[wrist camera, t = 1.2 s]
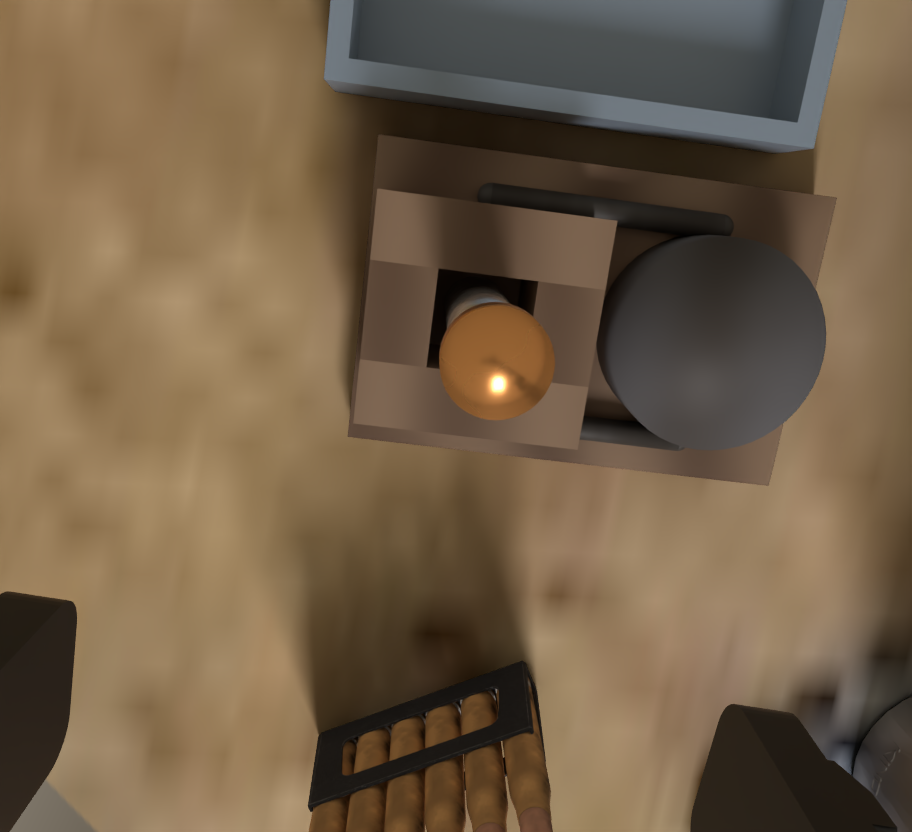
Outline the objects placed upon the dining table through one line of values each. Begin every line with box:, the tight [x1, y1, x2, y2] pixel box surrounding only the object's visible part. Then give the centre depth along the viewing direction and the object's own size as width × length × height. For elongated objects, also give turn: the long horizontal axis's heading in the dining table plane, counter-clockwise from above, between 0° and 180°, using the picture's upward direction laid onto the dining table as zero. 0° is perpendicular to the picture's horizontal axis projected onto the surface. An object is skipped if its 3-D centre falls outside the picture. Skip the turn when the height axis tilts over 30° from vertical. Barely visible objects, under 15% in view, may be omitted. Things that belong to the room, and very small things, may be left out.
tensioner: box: [348, 134, 837, 486], centre depth 32 cm, size 18×12×7 cm, turn 83°
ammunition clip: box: [308, 661, 553, 832], centre depth 34 cm, size 11×2×12 cm, turn 111°
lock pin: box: [439, 276, 555, 420], centre depth 27 cm, size 3×3×12 cm
